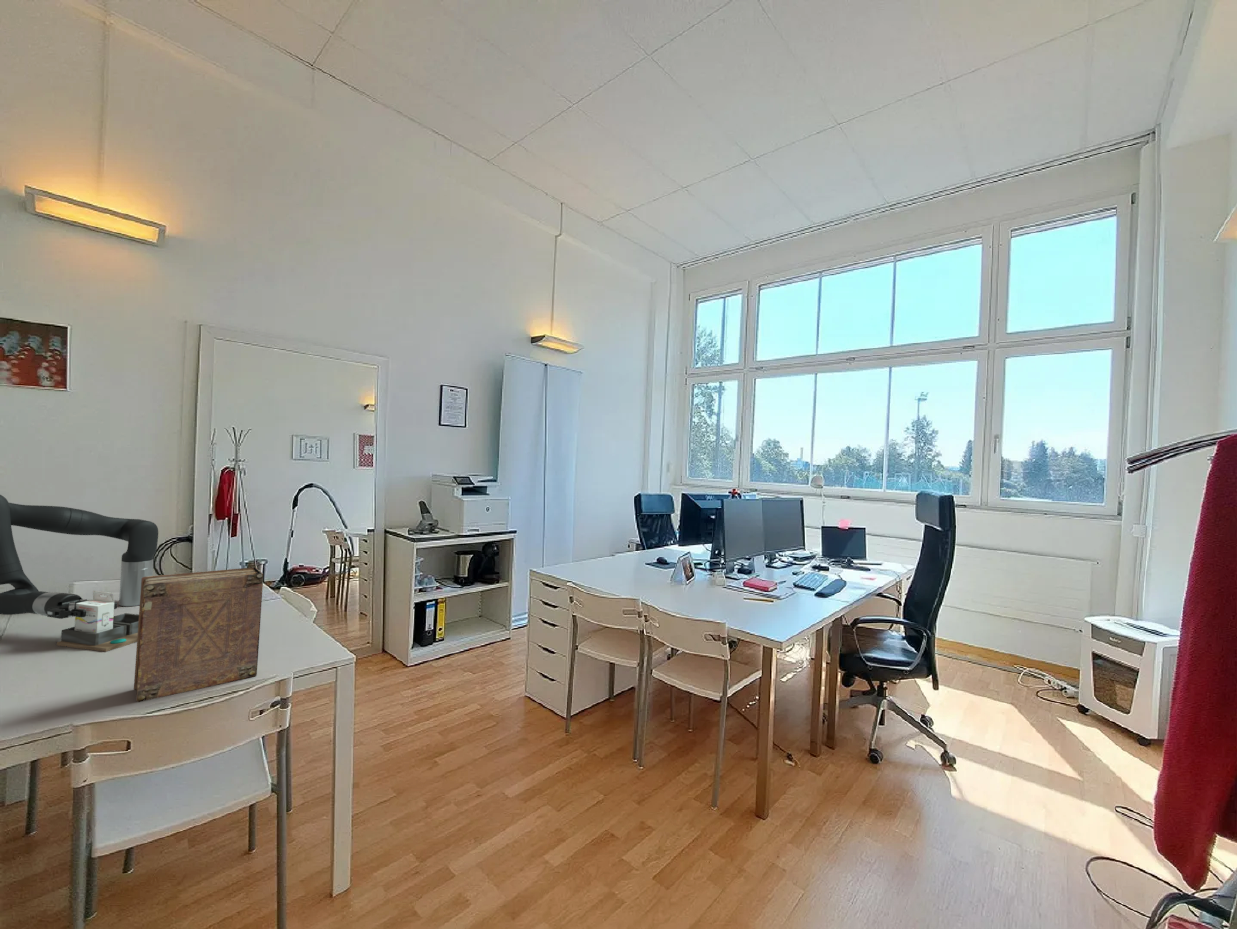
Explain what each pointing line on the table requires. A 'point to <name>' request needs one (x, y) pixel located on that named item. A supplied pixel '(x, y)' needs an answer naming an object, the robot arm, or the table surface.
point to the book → (197, 630)
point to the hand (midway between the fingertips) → (100, 609)
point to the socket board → (104, 635)
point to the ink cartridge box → (96, 613)
